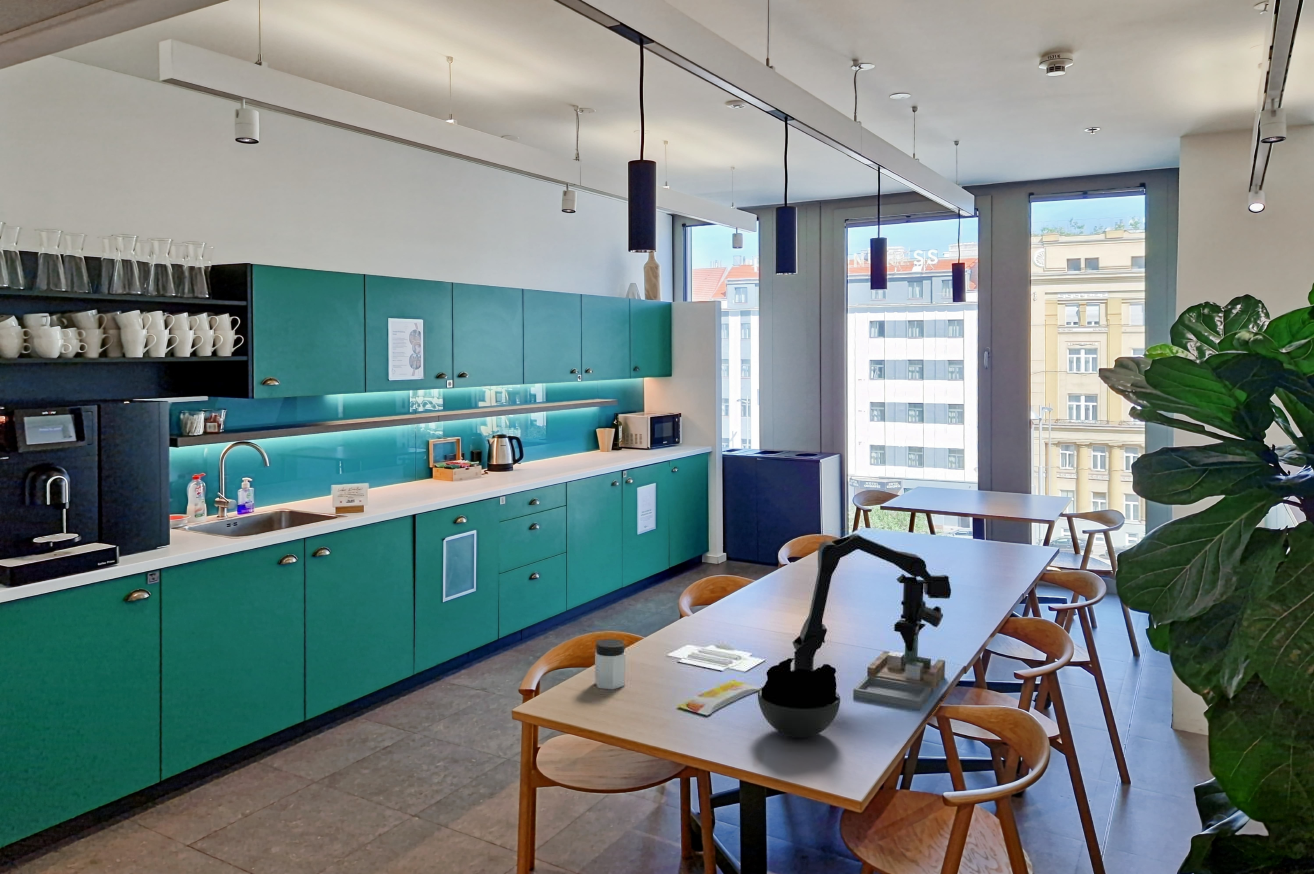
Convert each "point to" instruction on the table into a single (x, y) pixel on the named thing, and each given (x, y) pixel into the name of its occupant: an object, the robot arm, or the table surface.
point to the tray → (716, 657)
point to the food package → (718, 697)
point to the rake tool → (914, 653)
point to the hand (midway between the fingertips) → (911, 649)
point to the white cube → (895, 660)
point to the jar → (610, 664)
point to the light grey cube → (914, 671)
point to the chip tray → (892, 692)
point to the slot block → (880, 670)
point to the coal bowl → (799, 699)
